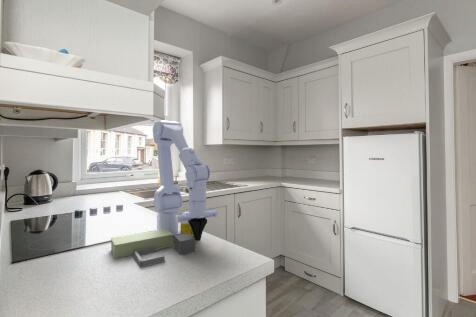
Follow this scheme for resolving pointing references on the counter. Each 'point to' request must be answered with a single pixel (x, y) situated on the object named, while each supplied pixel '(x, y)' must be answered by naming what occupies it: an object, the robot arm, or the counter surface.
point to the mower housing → (142, 245)
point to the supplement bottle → (186, 227)
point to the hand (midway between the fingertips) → (197, 240)
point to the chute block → (184, 243)
